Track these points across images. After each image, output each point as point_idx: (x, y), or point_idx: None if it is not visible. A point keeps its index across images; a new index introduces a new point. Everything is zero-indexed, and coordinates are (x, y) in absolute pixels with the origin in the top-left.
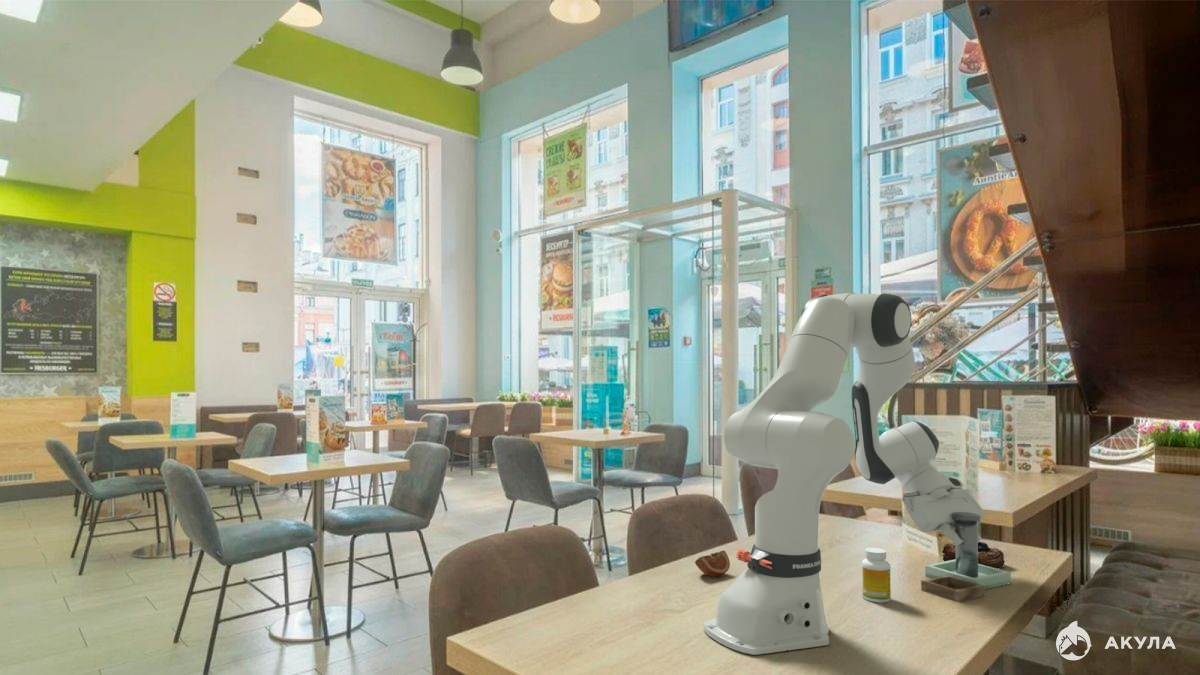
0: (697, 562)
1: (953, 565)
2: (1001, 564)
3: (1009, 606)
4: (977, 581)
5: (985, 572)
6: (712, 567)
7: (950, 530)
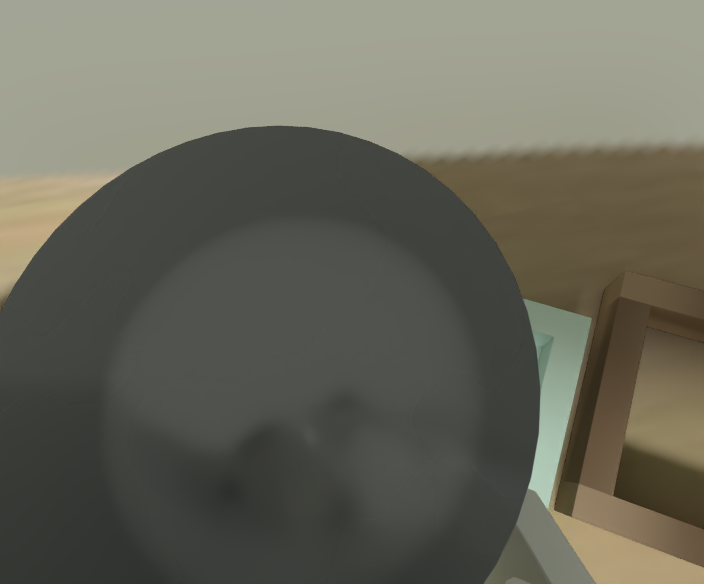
0: None
1: None
2: None
3: (675, 169)
4: (577, 317)
5: None
6: None
7: (581, 571)
